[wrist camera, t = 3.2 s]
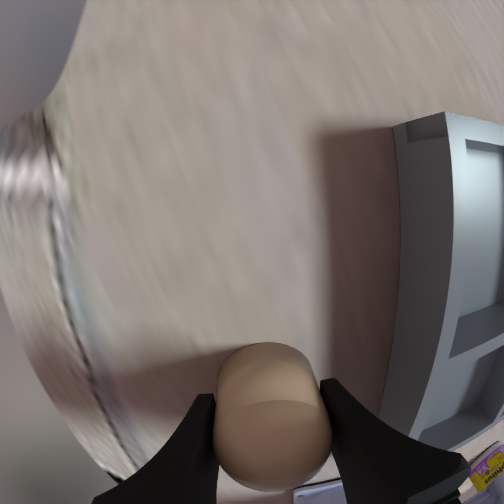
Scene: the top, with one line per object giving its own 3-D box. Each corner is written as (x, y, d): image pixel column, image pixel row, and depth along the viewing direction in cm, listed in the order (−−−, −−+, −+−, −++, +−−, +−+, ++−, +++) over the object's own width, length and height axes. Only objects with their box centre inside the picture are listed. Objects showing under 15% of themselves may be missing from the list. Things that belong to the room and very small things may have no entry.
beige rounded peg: (312, 405, 13) (338, 496, 7) (226, 415, 13) (223, 510, 7) (312, 335, 12) (354, 437, 6) (210, 348, 12) (192, 457, 6)
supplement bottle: (505, 431, 18) (546, 486, 5) (497, 449, 19) (532, 498, 7) (467, 463, 18) (504, 525, 6) (463, 476, 20) (494, 530, 7)
